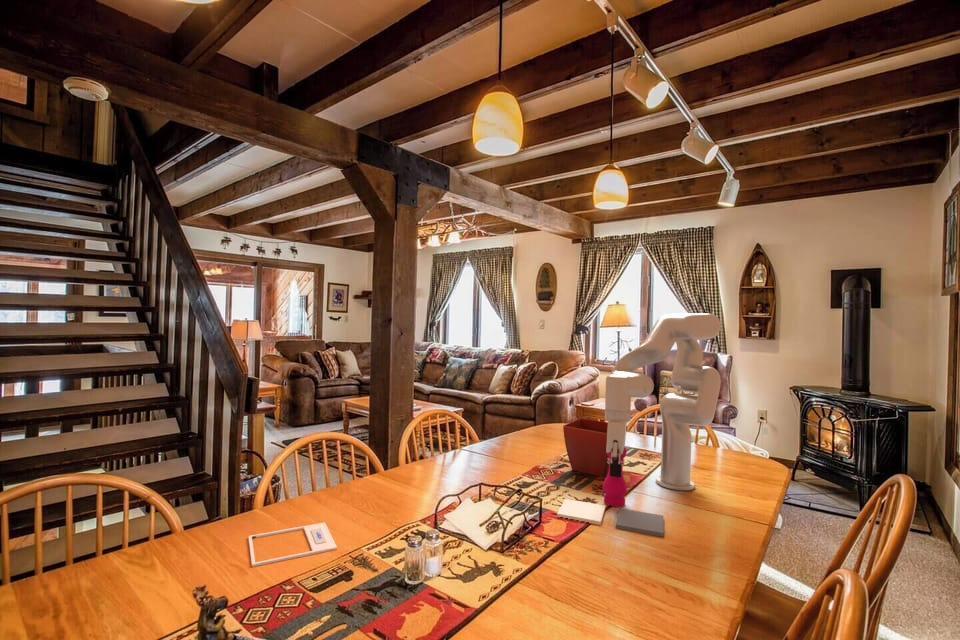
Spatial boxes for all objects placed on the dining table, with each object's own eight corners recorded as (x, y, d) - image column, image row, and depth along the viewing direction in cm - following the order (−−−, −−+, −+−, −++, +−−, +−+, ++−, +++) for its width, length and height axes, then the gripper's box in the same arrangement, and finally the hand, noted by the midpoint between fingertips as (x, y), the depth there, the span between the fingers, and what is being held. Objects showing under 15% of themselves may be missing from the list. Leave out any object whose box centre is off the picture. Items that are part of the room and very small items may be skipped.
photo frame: (337, 546, 109) (252, 563, 101) (336, 551, 109) (251, 568, 101) (324, 521, 122) (248, 535, 113) (324, 525, 122) (248, 539, 113)
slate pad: (619, 511, 137) (619, 508, 137) (663, 519, 133) (663, 515, 133) (615, 527, 126) (615, 524, 126) (663, 536, 121) (663, 533, 121)
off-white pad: (565, 501, 143) (565, 498, 143) (605, 509, 138) (605, 505, 138) (557, 517, 132) (557, 513, 132) (600, 525, 127) (600, 521, 127)
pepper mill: (628, 508, 139) (630, 442, 139) (603, 506, 140) (605, 439, 140) (625, 499, 146) (627, 436, 146) (601, 497, 148) (603, 434, 148)
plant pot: (626, 468, 178) (628, 424, 178) (611, 482, 162) (613, 434, 162) (578, 459, 188) (580, 417, 188) (560, 471, 172) (561, 425, 172)
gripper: (607, 408, 153) (606, 463, 153) (601, 419, 137) (600, 480, 137) (631, 410, 150) (630, 466, 150) (628, 421, 134) (627, 484, 134)
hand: (616, 472), depth 144 cm, fingers open, 5 cm apart
